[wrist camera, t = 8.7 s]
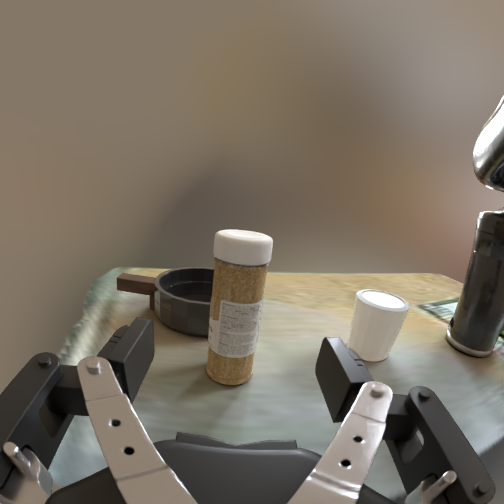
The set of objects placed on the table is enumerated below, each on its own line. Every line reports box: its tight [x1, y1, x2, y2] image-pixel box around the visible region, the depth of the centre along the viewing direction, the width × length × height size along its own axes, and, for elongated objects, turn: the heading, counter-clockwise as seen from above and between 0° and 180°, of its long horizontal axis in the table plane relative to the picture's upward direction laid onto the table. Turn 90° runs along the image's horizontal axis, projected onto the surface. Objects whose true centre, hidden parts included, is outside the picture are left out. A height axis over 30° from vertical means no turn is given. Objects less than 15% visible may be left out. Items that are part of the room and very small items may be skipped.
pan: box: [155, 267, 214, 337], centre depth 35 cm, size 13×13×4 cm
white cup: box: [347, 289, 410, 362], centre depth 30 cm, size 7×7×7 cm
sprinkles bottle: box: [206, 230, 273, 385], centre depth 23 cm, size 5×5×14 cm
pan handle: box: [117, 273, 155, 310], centre depth 35 cm, size 6×2×4 cm, turn 92°
